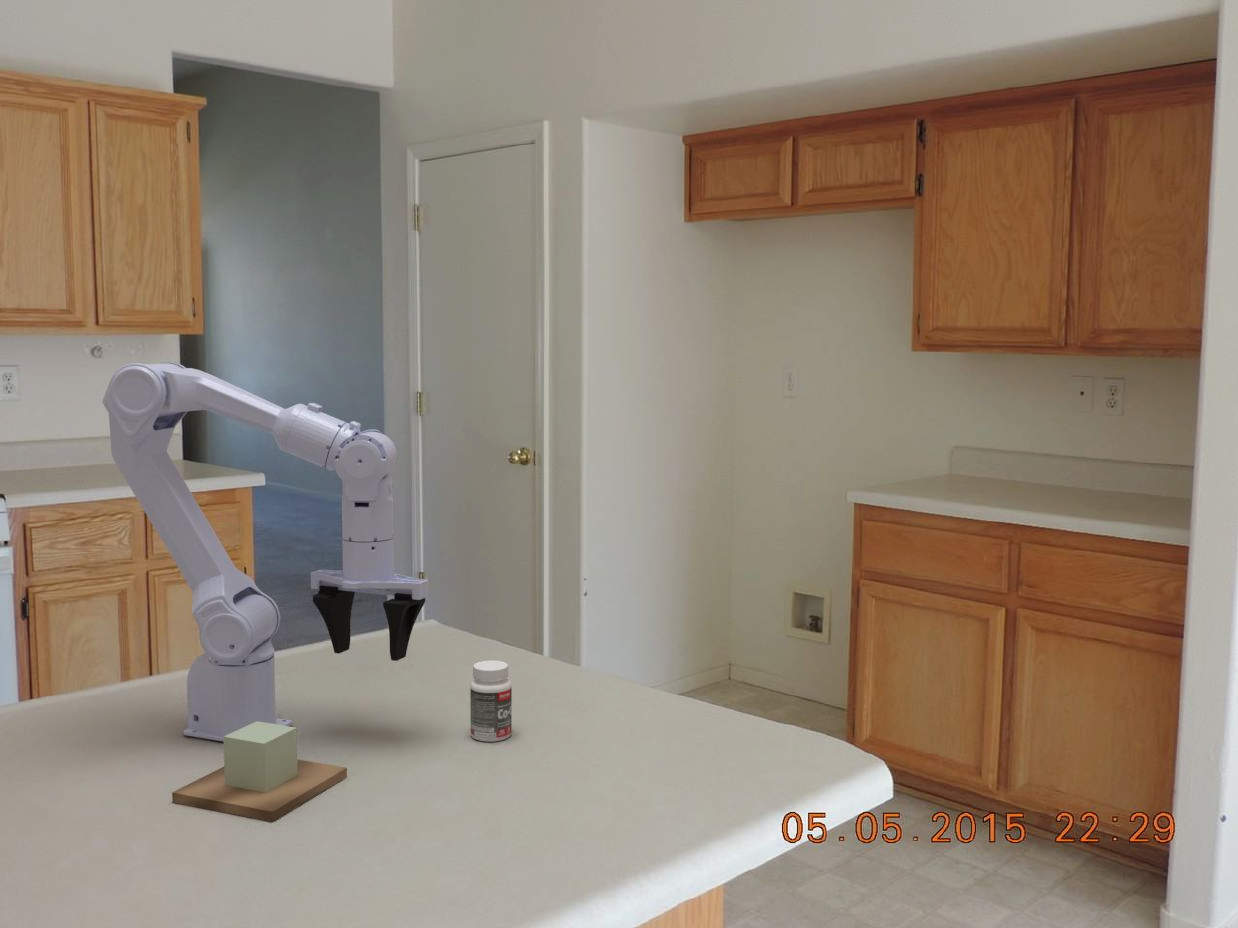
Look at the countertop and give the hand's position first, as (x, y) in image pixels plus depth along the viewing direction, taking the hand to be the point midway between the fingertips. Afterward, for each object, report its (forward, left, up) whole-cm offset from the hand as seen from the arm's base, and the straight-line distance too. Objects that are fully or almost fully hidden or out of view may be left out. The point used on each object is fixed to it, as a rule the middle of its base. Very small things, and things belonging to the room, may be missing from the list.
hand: (369, 654), depth 130 cm
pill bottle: (+13, +5, -10) cm, 17 cm away
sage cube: (-1, -18, -8) cm, 20 cm away
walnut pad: (-1, -18, -9) cm, 20 cm away
